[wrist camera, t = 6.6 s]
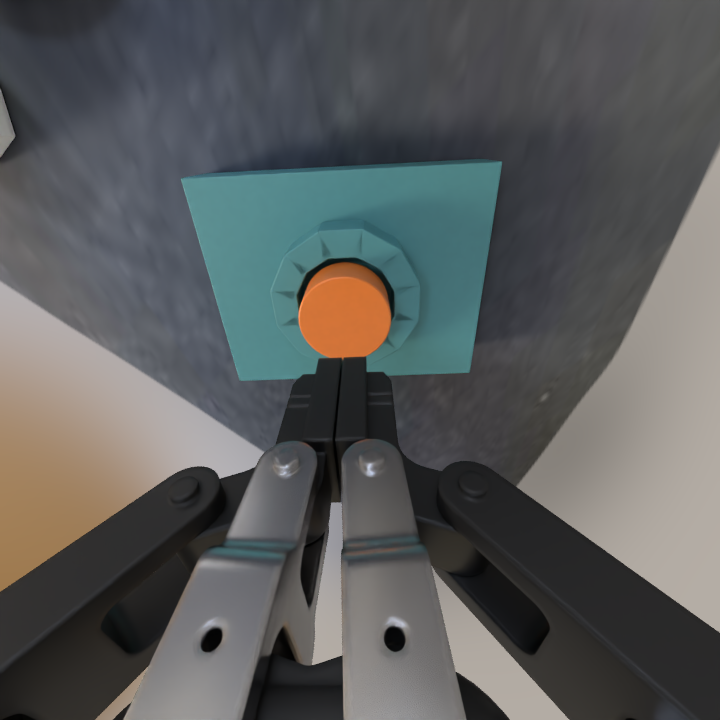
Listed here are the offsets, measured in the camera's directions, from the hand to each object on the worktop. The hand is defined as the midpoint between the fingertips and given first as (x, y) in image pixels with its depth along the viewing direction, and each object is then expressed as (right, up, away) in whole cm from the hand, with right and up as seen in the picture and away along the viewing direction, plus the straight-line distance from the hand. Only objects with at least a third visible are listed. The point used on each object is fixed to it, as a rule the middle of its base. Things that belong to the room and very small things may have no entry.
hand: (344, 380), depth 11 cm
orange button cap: (0, +3, +5) cm, 6 cm away
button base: (0, +6, +9) cm, 11 cm away
